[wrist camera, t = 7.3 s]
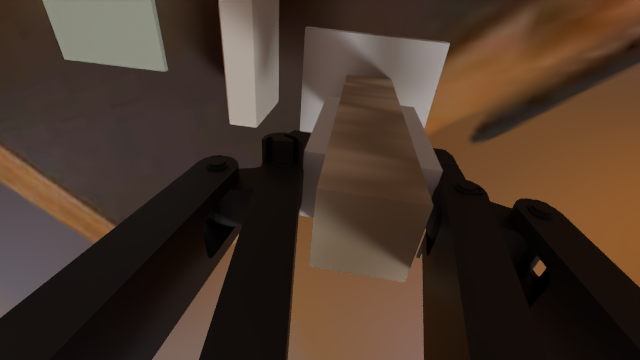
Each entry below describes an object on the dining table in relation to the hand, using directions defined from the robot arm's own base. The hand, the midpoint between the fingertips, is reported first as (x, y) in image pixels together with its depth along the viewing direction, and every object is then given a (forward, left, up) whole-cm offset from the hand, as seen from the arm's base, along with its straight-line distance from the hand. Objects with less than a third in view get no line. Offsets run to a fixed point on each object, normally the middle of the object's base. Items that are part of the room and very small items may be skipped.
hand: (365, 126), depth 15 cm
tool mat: (-28, +3, -17) cm, 33 cm away
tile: (-10, 0, -17) cm, 20 cm away
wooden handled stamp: (0, 0, -6) cm, 6 cm away
